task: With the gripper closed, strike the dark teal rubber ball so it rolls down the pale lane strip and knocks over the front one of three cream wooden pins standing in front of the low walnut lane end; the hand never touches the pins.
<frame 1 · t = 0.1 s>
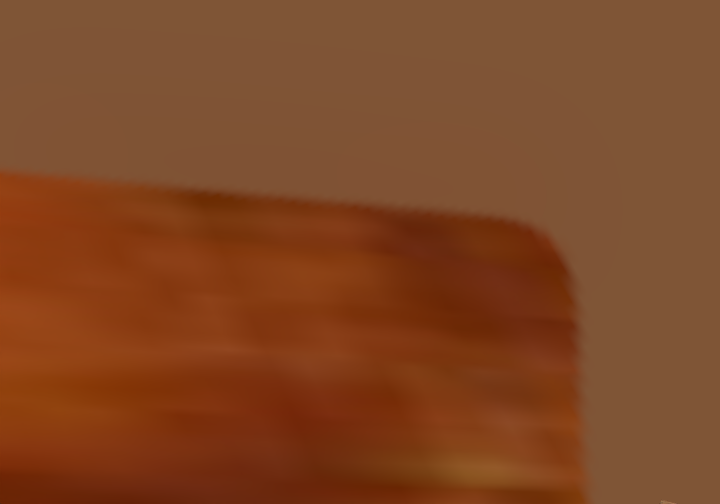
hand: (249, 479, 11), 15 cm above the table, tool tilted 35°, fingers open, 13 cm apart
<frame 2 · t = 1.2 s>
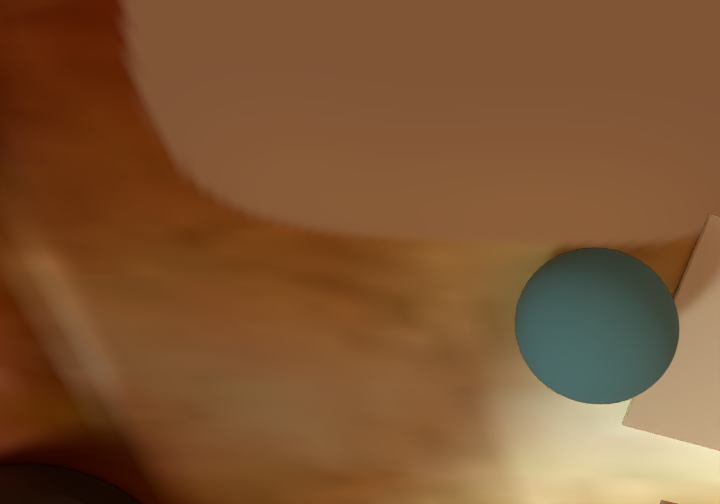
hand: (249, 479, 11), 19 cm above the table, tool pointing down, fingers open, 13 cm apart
ball: (594, 325, 27), on the table
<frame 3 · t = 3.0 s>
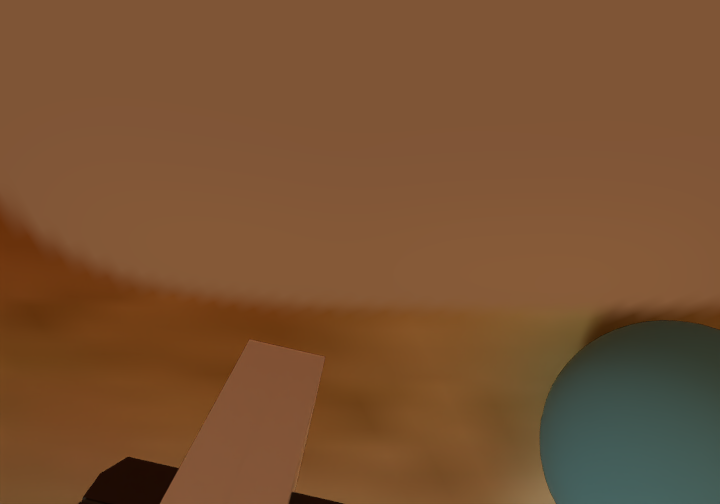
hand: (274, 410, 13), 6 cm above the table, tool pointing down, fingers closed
ball: (671, 448, 16), on the table
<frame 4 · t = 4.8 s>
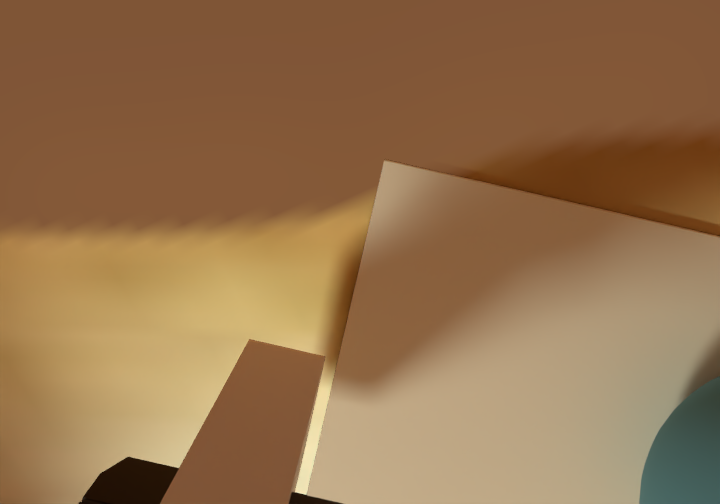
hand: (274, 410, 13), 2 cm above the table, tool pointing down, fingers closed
lane mark: (552, 428, 15), on the table
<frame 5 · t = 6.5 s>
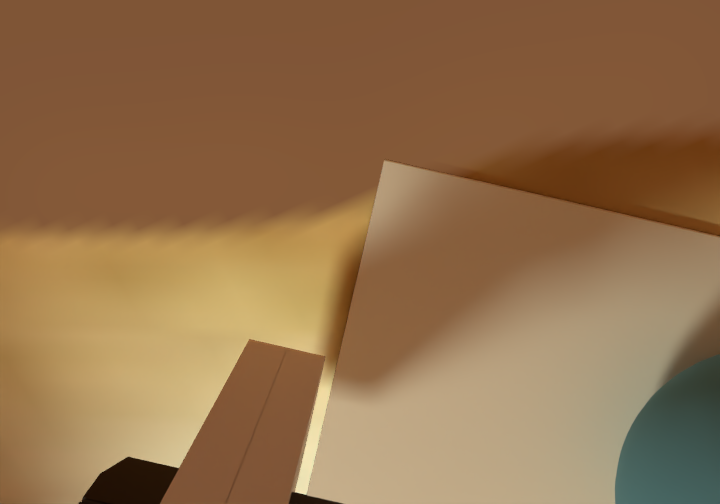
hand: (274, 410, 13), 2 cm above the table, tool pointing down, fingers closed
lane mark: (552, 428, 15), on the table
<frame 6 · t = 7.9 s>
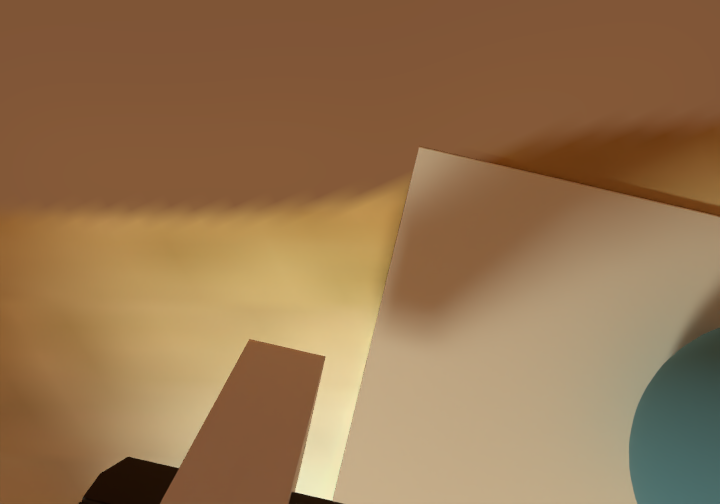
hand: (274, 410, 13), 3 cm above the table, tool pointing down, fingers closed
lane mark: (571, 396, 17), on the table
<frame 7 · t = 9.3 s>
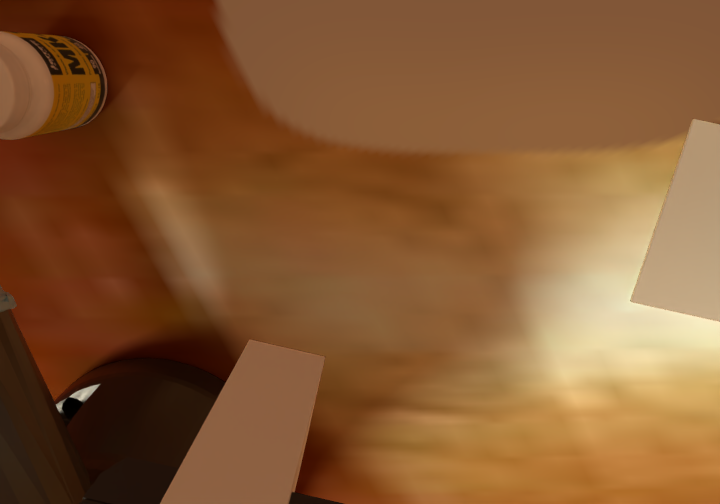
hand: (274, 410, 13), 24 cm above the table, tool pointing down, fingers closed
supplement bottle: (67, 81, 36), on the table
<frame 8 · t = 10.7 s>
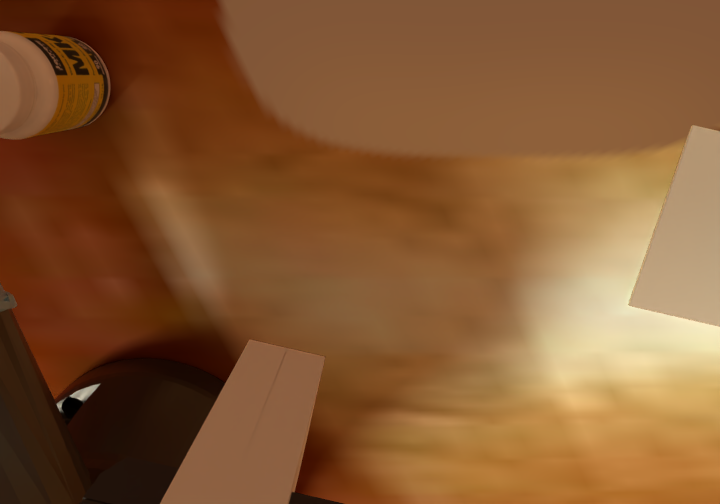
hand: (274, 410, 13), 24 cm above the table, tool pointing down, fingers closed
supplement bottle: (70, 82, 37), on the table
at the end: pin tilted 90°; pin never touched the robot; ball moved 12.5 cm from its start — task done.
